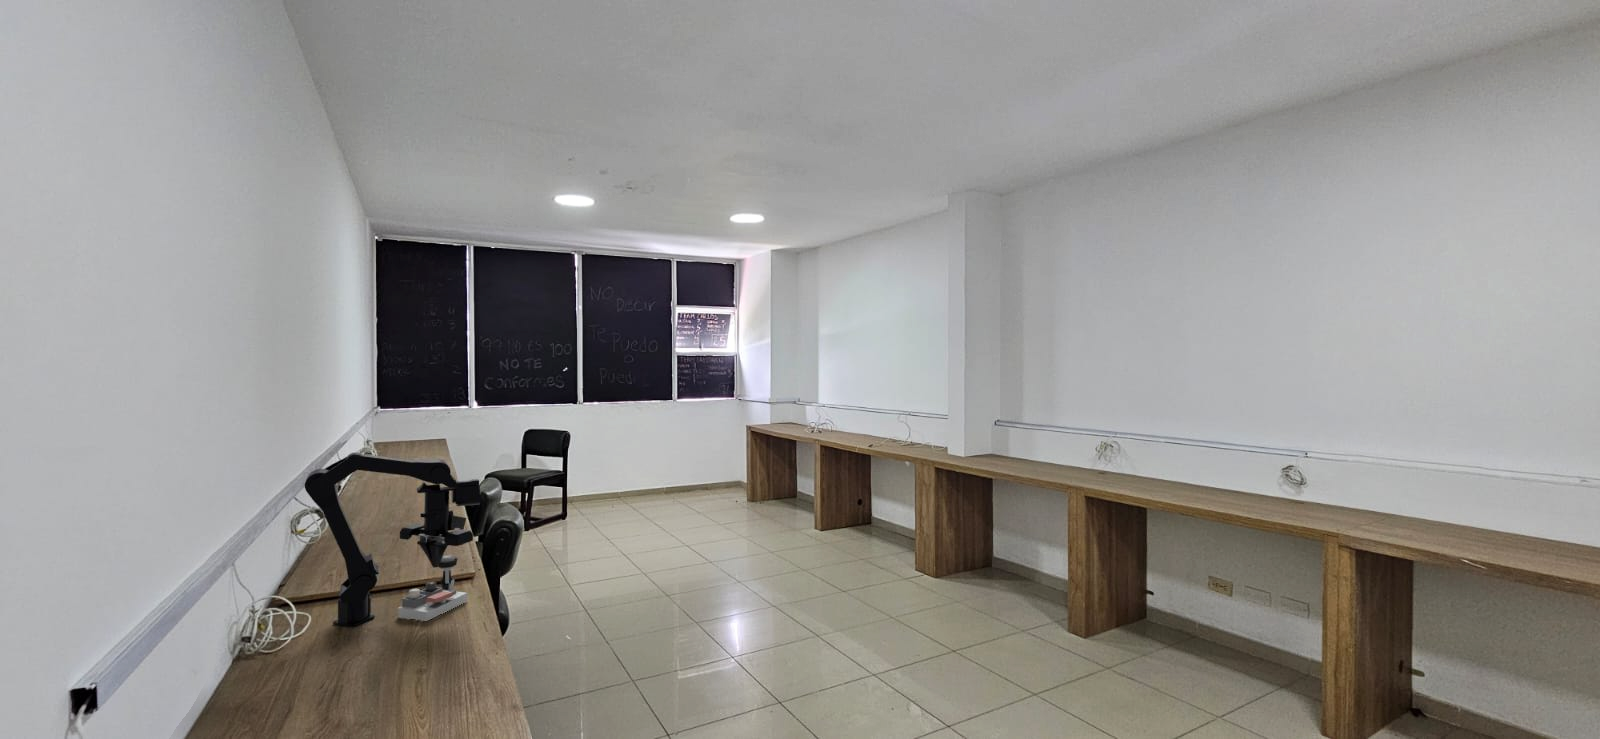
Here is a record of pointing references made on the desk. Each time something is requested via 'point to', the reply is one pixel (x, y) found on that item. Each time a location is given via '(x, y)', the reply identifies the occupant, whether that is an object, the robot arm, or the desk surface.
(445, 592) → the rocker
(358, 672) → the desk surface
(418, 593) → the button ivory
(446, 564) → the grey post with knob
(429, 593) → the panel
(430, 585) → the button black
